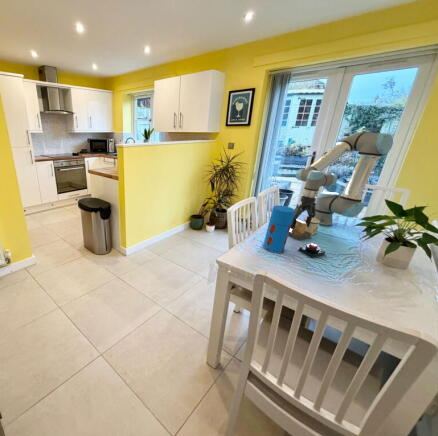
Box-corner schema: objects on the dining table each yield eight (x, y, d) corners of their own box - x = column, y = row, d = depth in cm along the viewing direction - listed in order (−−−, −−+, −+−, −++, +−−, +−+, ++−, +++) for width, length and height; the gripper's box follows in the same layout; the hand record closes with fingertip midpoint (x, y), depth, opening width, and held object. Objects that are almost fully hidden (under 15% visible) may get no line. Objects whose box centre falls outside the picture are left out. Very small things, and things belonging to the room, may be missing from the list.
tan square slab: (292, 229, 152) (295, 219, 149) (294, 229, 152) (297, 219, 150) (301, 233, 146) (305, 223, 143) (304, 233, 146) (307, 223, 143)
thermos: (259, 246, 135) (268, 206, 125) (270, 242, 140) (280, 204, 130) (276, 254, 126) (288, 213, 117) (287, 250, 131) (299, 210, 122)
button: (312, 245, 130) (313, 242, 130) (318, 248, 127) (319, 245, 126) (307, 246, 129) (308, 243, 128) (313, 249, 126) (314, 246, 125)
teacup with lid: (315, 236, 150) (321, 220, 145) (299, 232, 155) (304, 216, 150) (317, 230, 158) (322, 215, 154) (301, 226, 163) (306, 211, 159)
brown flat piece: (295, 230, 157) (296, 226, 156) (311, 237, 147) (312, 233, 146) (282, 233, 153) (284, 228, 152) (298, 240, 143) (299, 236, 142)
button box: (310, 248, 135) (312, 242, 133) (324, 255, 128) (326, 248, 126) (298, 250, 131) (300, 244, 130) (311, 258, 124) (314, 251, 123)
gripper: (300, 199, 132) (290, 232, 141) (329, 196, 140) (318, 227, 149) (289, 195, 139) (280, 227, 147) (317, 193, 147) (307, 222, 155)
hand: (299, 227), depth 148 cm, fingers open, 13 cm apart
